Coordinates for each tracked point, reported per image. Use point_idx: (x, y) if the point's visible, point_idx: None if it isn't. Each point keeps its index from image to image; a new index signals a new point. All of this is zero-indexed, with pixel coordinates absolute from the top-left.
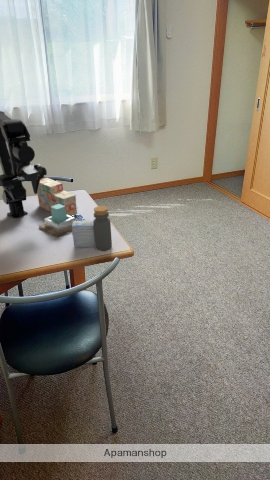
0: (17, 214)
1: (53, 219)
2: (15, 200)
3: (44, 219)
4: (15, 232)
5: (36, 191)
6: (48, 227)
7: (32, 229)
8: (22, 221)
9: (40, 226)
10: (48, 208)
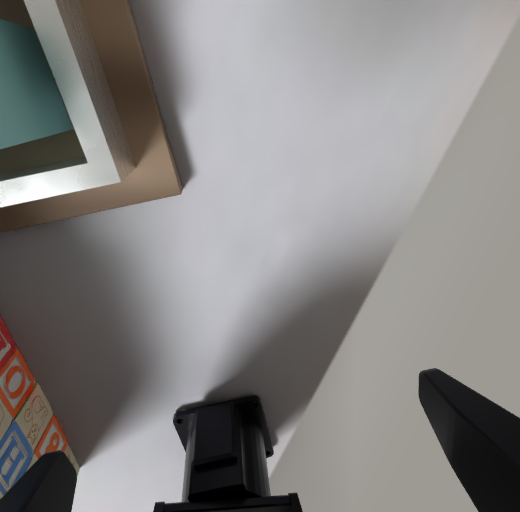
0: (238, 414)
1: (37, 115)
2: (429, 371)
3: (120, 176)
4: (336, 226)
5: (20, 491)
6: (121, 116)
7: (230, 200)
8: (237, 342)
9: (173, 176)
10: (33, 404)
